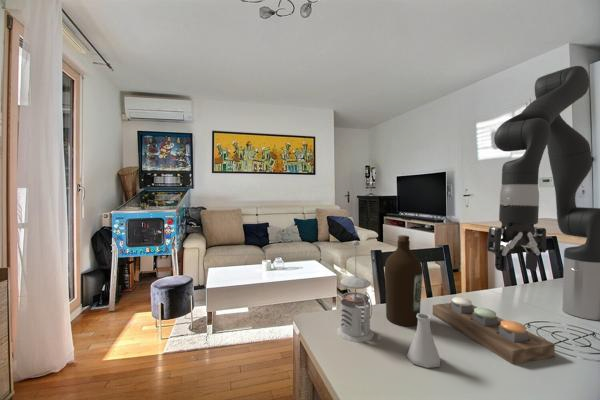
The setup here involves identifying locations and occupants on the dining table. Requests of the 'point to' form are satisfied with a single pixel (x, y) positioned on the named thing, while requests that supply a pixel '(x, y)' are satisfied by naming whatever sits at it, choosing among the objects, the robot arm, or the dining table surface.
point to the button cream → (461, 305)
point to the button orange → (513, 331)
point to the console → (495, 337)
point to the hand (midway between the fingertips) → (515, 270)
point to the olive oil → (403, 284)
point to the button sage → (485, 317)
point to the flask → (424, 344)
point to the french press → (355, 309)
